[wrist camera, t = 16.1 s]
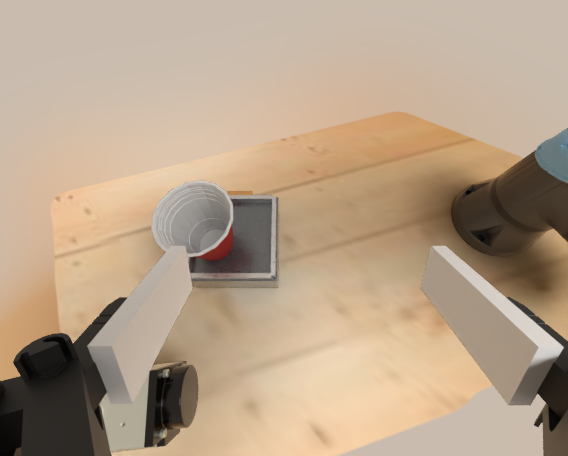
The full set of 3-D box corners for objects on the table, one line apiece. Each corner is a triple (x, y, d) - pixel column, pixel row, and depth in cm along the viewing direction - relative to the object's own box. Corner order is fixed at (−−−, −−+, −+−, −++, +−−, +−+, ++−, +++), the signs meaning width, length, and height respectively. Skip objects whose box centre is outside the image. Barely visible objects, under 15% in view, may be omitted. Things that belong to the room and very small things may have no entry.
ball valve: (97, 428, 42) (-26, 492, 25) (105, 367, 45) (-1, 389, 28) (213, 414, 42) (167, 468, 26) (212, 355, 45) (171, 369, 29)
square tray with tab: (279, 202, 56) (278, 181, 48) (278, 287, 49) (276, 279, 41) (207, 202, 56) (194, 181, 48) (197, 287, 49) (180, 279, 42)
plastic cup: (190, 212, 47) (160, 175, 36) (251, 217, 47) (240, 182, 36) (175, 273, 43) (137, 252, 32) (241, 279, 43) (225, 261, 32)
